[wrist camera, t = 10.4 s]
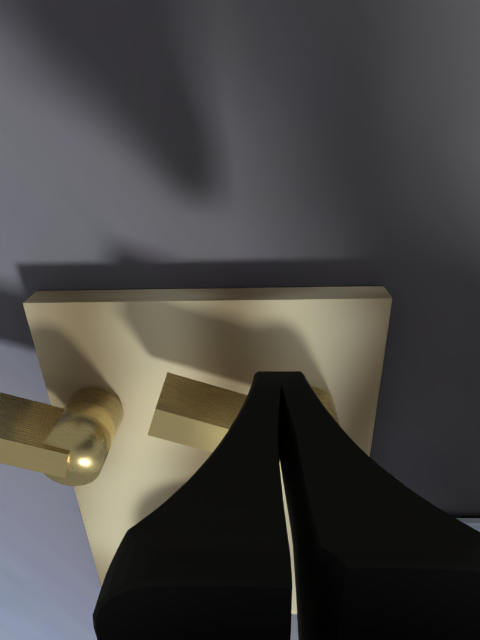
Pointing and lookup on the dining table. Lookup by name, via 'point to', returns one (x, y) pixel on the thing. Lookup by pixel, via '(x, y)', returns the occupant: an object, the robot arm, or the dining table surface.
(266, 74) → the dining table surface
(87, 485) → the base
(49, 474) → the knob
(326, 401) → the knob
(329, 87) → the dining table surface
